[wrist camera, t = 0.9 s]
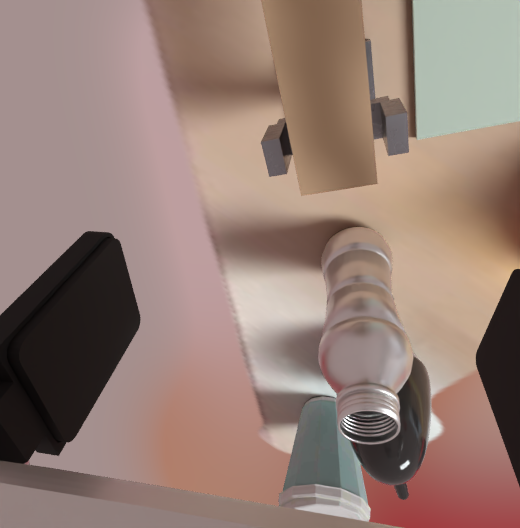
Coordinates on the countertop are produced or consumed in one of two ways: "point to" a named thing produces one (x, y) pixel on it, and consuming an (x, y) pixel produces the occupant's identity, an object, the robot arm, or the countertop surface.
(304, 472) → the disposable coffee cup
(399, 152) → the hook standards
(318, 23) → the rail
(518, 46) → the mat
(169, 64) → the countertop surface
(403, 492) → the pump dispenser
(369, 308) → the plastic bottle
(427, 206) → the countertop surface
